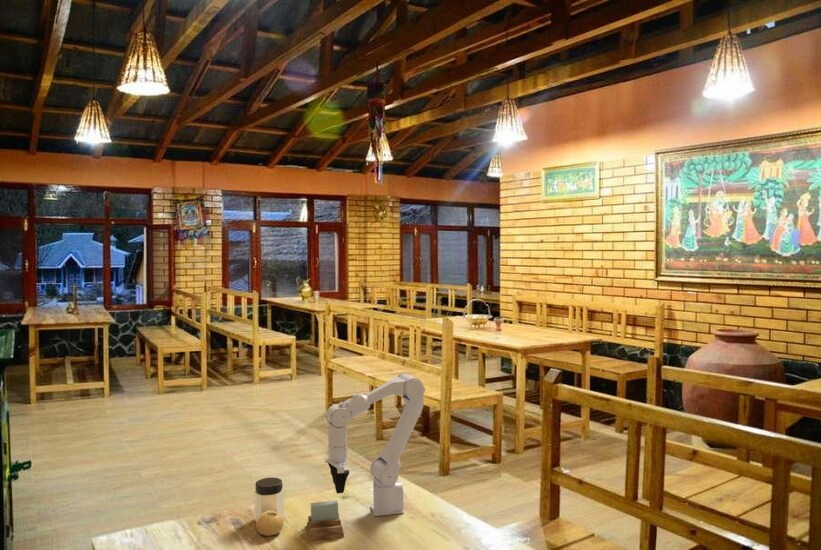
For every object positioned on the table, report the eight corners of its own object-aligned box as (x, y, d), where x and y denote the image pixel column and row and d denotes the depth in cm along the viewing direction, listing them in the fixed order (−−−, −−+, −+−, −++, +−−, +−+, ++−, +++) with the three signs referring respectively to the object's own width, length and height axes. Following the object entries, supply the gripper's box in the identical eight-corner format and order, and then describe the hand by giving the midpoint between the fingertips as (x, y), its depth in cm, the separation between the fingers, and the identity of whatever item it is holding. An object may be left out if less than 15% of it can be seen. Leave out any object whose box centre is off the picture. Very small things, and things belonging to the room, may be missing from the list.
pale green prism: (337, 521, 197) (337, 500, 197) (338, 524, 195) (338, 503, 194) (310, 524, 195) (310, 503, 195) (311, 527, 193) (311, 506, 193)
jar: (288, 520, 200) (287, 482, 200) (264, 528, 195) (263, 489, 194) (274, 511, 207) (274, 474, 206) (251, 518, 202) (250, 481, 201)
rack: (339, 521, 199) (339, 512, 199) (344, 536, 189) (343, 526, 189) (307, 525, 197) (306, 515, 197) (309, 540, 187) (309, 530, 187)
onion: (256, 540, 187) (256, 516, 187) (255, 529, 195) (255, 506, 195) (284, 537, 190) (284, 513, 189) (282, 525, 197) (282, 502, 197)
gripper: (322, 438, 206) (323, 480, 206) (327, 453, 192) (327, 498, 192) (344, 437, 207) (345, 478, 208) (350, 451, 193) (351, 496, 194)
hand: (338, 488), depth 200 cm, fingers open, 7 cm apart
